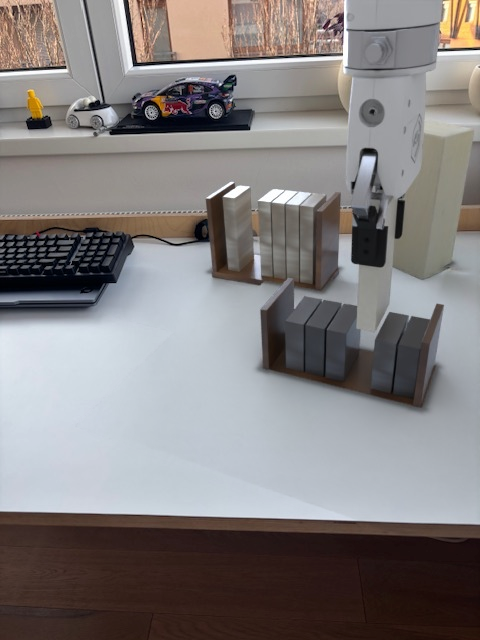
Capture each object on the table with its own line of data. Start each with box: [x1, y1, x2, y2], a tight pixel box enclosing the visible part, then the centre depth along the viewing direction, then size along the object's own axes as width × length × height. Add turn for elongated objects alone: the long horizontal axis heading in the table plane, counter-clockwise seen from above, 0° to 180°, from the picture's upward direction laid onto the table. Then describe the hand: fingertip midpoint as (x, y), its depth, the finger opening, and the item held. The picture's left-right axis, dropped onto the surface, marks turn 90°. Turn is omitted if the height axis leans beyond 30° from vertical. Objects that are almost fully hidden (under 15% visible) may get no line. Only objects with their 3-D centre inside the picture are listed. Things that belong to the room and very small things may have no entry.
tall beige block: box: [392, 120, 475, 280], centre depth 80 cm, size 8×7×21 cm
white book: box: [356, 190, 398, 333], centre depth 55 cm, size 2×6×13 cm, turn 153°
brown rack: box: [205, 181, 342, 292], centre depth 82 cm, size 18×8×13 cm, turn 63°
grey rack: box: [259, 278, 445, 409], centre depth 61 cm, size 18×8×9 cm, turn 63°
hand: (377, 248), depth 54 cm, fingers closed on white book, 6 cm apart
